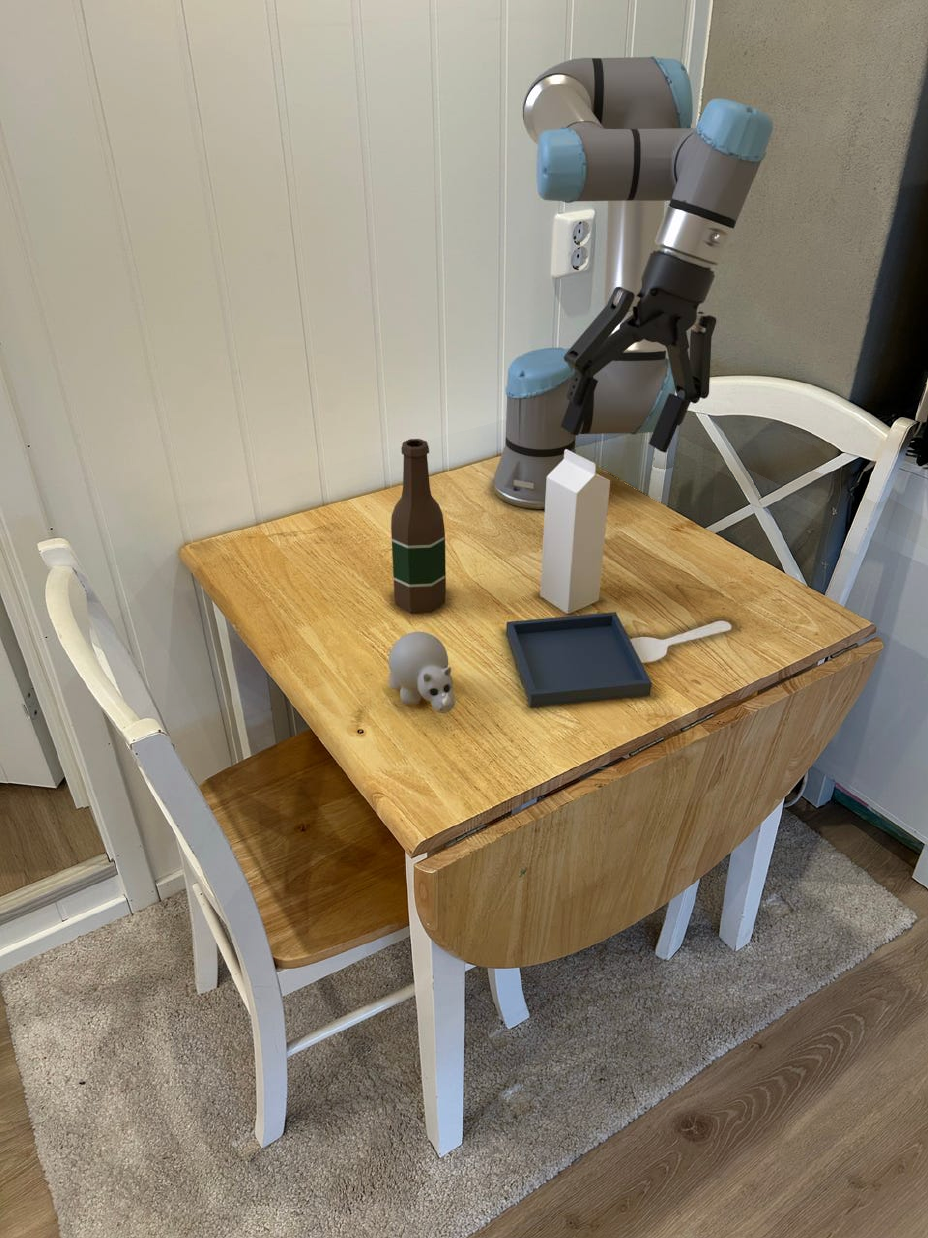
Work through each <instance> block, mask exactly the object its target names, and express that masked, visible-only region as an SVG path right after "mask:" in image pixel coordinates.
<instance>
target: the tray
mask: <svg viewBox="0 0 928 1238" xmlns="http://www.w3.org/2000/svg"><path fill="white" fill-rule="evenodd" d="M505 625H506V626H505V627H506V629H505V635H506V638H507V641H508V644H509V647H510V650H511V654H512V656H513V660H514V662H515V665H516V668H517V671H518V674H519V678H520V680H521V683H522V687H523V690H524V692H525V695H526V698H527V701H528V704H529V707H530V708H531V709H535V708H542V707H543V708H544V707H552V706H562V705H574V704H583V703H591V702H600V701H602V702H603V701H612V700H622V699H632V698H640V697H641V698H643V697H651V692H652V685H653V682H652V679H651V678H650V676H649V674H648V672H647V670H646V668H645V666H644V663H642V662H641V660H640V658H639V656H638V654H637V653H636V651H635V649H634V647H633V645H632V643H631V641H630V639H631V638H630V637H629V635H628V633H627V631H626V629H625V627H624V625H623V624H622V621H621V620H620V617H619V615H618V614H617V612H616V611H613V612H601V613H588V614H579V615H568V616H557V617H545V618H534V619H533V618H531V619H522V620H512V621H506V623H505Z"/></svg>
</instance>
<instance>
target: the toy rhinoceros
mask: <svg viewBox="0 0 928 1238" xmlns="http://www.w3.org/2000/svg"><path fill="white" fill-rule="evenodd" d="M388 670H389V672H390V673H389V676H388V685H389V687H390V688H391V689H392V690H395V691H399V697H400V699H399V700H400V702H401V703H402V704H403V705H405V706H411V707H412V706H416V705H418V704H419V703H420V702H421V700H422V699H424V700H426V701H428V702H429V703H431V706H432V708H433V710H434V711H435V712H437V713H439V714H448V713H450V712H451V711H452V710H453V709H454V707H455V705H456V699H455V694H454V679H453V676H452V675H451V672H452V668H451V666H449V656H448V652H447V649H446V647H445V645H444V644H443V643H442V642H441V640H440V639H439V638H437V637H436V636H435V635H433V634H432V633H428V632H425V631H413V632H408V633H406V634H404V635H402V636H401V637H399V638H398V639H396V641H395V642H394V644H393V645H392V647H391V649H390V651H389V653H388Z"/></svg>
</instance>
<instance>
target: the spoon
mask: <svg viewBox="0 0 928 1238" xmlns="http://www.w3.org/2000/svg"><path fill="white" fill-rule="evenodd" d="M731 630H732V624H731V623H729V622H728V621H725V620H718V621H715V622H712V623H708V624H705V625H702V626H699V627H697V628H693V629H690V630H689V631H685V632H682V633H680V634H676V635H674V636H671V637H668V638H665V639H658V638H656V637H651V636H640V637H633V638H629V639H630V641H631V643H632V645H633V647H634V649H635V651H636V653H637V654H638V656H639V658H640V660H641V662H642V664H649V663H653V662H656V661H659V660H661V659H663V658H664V657H665V656H666V655H667V653H668V648H669V647H670V646H675V645H679V644H683V643H686V642H690V641H695V640H699V639H702V638H707V637H710V636H714V635H718V634H722V633H726V632H729V631H731Z"/></svg>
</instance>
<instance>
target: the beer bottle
mask: <svg viewBox="0 0 928 1238" xmlns="http://www.w3.org/2000/svg"><path fill="white" fill-rule="evenodd" d="M400 451H401V454H402V455H403V472H402V473H403V474H402V475H403V477H402V492H401V497H400V498H399V500H398V501H397V503H396V504H395V505H394V508H393V511H392V514H391V519H390V530H391V531H390V532H391V555H392V556H391V557H392V574H393V595H394V602H395V606H396V607H398V608H400V609H402V610H404V611H406V612H408V613H410V614H423V613H425V614H426V613H433V612H434V611H436V610H437V609H439V608H441V607H442V606H443V605H445V604H446V598H447V597H446V596H447V580H446V579H447V576H446V575H447V574H446V573H447V570H446V569H447V568H446V532H445V521H444V515H443V511H442V509H441V506H440V504H439V502H437V501H436V499H435V498H434V497H433V495H432V491H431V484H430V474H429V473H430V472H429V462H428V455H429V454H430V447H429V444H428V441H426V440H424V439H421V438H409V439H407V440H405V441H403V442H402V445H401V449H400Z"/></svg>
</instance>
